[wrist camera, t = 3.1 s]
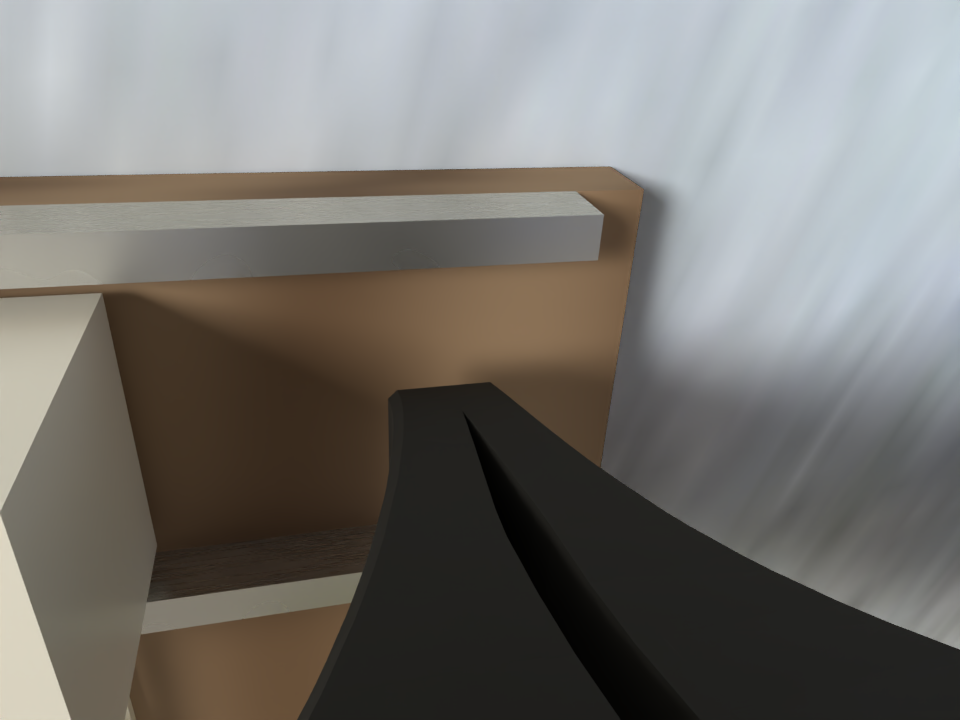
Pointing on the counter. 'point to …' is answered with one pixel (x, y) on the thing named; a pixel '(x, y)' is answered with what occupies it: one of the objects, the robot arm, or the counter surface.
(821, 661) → the robot arm
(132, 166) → the counter surface
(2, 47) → the counter surface
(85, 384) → the gauge carriage
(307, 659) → the gauge bed
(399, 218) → the anvil and rails
